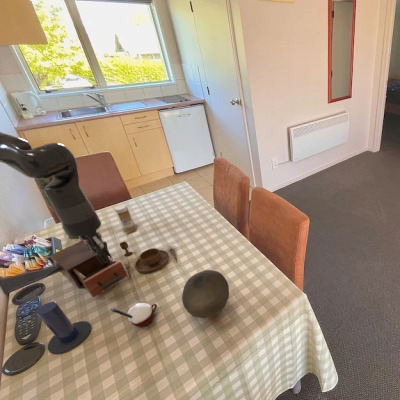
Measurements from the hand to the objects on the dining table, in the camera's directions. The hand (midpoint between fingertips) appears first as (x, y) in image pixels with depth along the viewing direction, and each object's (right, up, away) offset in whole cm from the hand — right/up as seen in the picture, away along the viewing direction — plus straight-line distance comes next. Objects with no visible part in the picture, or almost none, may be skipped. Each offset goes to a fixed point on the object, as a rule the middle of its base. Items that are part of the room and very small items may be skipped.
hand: (104, 261), depth 83 cm
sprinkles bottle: (-21, +4, +42) cm, 47 cm away
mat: (-7, -22, -4) cm, 23 cm away
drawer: (-11, -11, +14) cm, 21 cm away
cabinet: (-22, -8, +20) cm, 31 cm away
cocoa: (+12, -20, +1) cm, 23 cm away
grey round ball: (+32, -17, +4) cm, 37 cm away
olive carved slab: (-44, +4, +41) cm, 60 cm away
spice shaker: (-7, -22, -4) cm, 23 cm away
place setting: (-2, -5, +26) cm, 26 cm away
